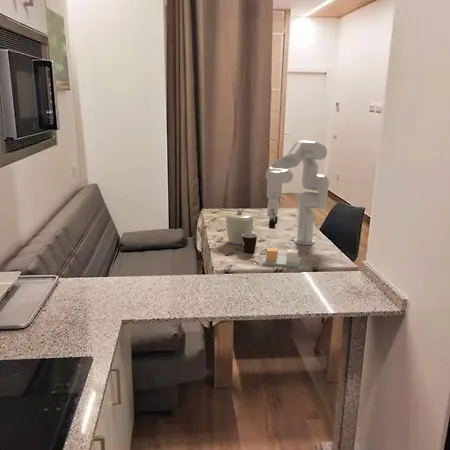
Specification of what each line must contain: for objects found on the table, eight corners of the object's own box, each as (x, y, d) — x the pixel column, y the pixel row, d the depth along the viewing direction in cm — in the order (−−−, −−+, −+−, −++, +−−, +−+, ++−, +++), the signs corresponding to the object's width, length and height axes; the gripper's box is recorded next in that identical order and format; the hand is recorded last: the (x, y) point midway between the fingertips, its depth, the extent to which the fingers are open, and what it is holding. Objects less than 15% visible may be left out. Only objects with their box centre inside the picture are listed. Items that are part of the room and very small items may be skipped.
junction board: (265, 256, 250) (266, 245, 249) (300, 259, 246) (300, 248, 245) (262, 264, 238) (262, 252, 236) (298, 267, 234) (299, 255, 232)
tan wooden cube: (267, 257, 246) (267, 247, 245) (277, 257, 245) (277, 248, 244) (266, 260, 241) (266, 250, 240) (276, 261, 240) (276, 251, 239)
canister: (220, 244, 271) (220, 210, 265) (230, 236, 287) (231, 204, 282) (248, 248, 264) (249, 213, 259) (257, 240, 281) (258, 207, 275)
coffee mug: (255, 254, 253) (256, 237, 251) (240, 253, 255) (240, 236, 252) (258, 248, 264) (258, 232, 262) (243, 247, 266) (244, 231, 263)
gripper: (269, 191, 243) (268, 221, 247) (264, 197, 227) (263, 230, 231) (283, 191, 241) (281, 222, 246) (279, 198, 225) (278, 231, 230)
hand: (273, 226), depth 238 cm, fingers open, 9 cm apart
